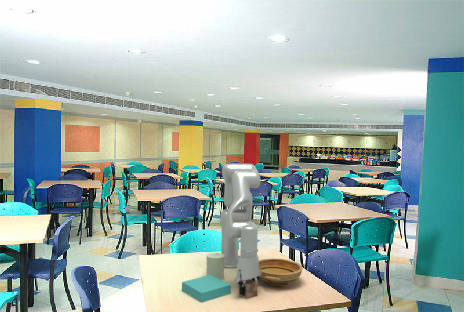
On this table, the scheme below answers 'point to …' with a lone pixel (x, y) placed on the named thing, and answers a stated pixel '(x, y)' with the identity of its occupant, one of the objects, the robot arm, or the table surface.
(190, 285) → the teal base
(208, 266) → the can
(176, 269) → the table surface
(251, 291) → the walnut cube
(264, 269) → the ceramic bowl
